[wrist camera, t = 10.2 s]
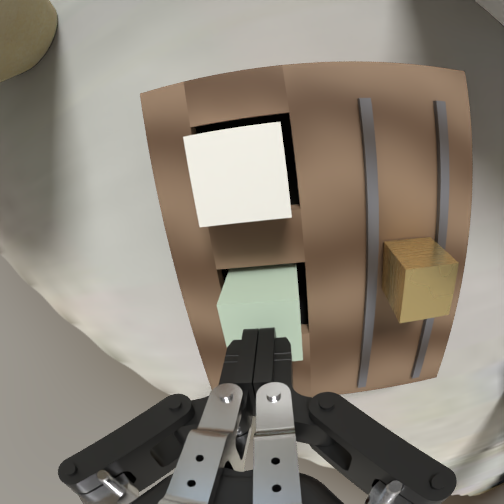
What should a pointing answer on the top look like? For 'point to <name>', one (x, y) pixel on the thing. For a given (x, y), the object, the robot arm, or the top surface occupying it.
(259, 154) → the off-white button
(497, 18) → the rounded white slab
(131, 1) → the top surface
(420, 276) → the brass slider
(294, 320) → the sage green button
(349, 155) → the switch panel
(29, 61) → the plant pot
